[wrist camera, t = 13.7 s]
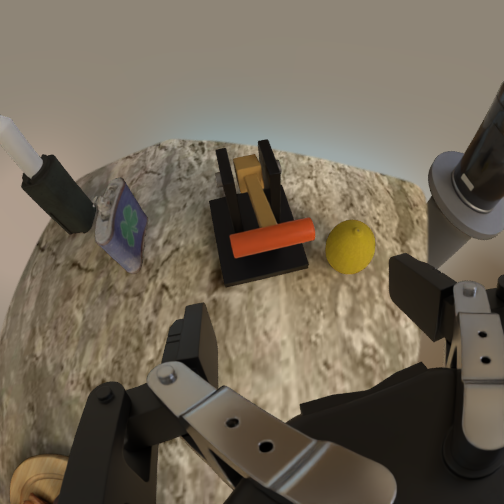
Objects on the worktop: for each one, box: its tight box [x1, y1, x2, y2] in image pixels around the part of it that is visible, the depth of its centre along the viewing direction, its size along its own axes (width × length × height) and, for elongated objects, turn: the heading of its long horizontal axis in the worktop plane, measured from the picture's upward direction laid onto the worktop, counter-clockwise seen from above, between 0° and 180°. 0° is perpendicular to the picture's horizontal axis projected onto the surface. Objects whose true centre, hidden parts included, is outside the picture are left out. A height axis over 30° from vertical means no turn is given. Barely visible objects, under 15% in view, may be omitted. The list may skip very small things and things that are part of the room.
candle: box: [0, 115, 96, 234], centre depth 30 cm, size 5×5×25 cm
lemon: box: [325, 220, 375, 274], centre depth 32 cm, size 6×6×8 cm
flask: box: [93, 178, 148, 274], centre depth 34 cm, size 9×3×11 cm, turn 1°
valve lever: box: [230, 154, 315, 258], centre depth 24 cm, size 12×5×2 cm, turn 12°
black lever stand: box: [209, 140, 309, 287], centre depth 32 cm, size 12×10×14 cm
